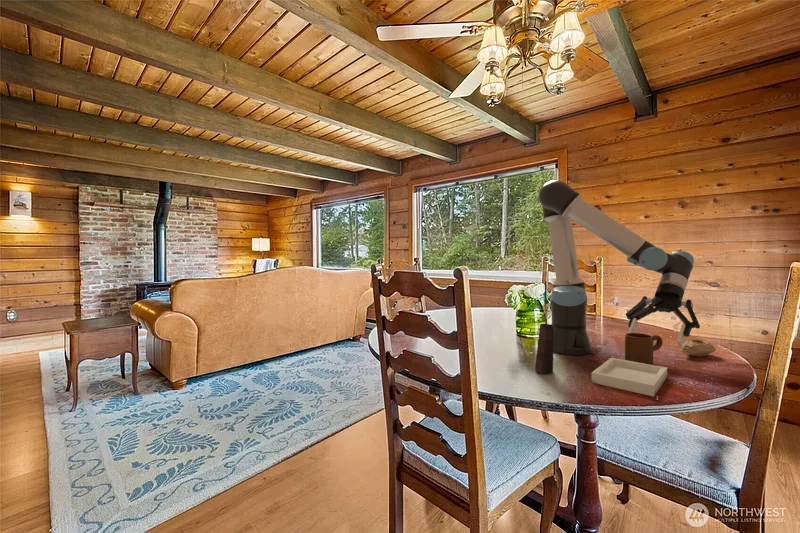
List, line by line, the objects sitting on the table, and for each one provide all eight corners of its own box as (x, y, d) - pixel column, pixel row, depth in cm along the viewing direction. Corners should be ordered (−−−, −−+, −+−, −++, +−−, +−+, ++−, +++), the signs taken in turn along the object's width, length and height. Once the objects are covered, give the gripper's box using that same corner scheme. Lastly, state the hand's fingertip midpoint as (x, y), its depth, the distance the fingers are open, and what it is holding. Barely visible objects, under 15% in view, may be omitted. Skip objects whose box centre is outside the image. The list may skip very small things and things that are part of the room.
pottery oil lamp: (669, 354, 121) (667, 334, 124) (694, 362, 124) (691, 342, 127) (697, 351, 113) (694, 330, 116) (723, 360, 116) (719, 339, 119)
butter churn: (559, 380, 100) (559, 283, 99) (525, 374, 106) (524, 282, 104) (564, 370, 108) (563, 281, 107) (532, 366, 113) (531, 280, 112)
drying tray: (591, 382, 98) (591, 372, 98) (610, 366, 111) (610, 357, 111) (653, 396, 88) (653, 385, 88) (667, 377, 101) (667, 367, 101)
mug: (651, 359, 117) (651, 331, 117) (672, 366, 110) (672, 336, 109) (619, 361, 116) (619, 333, 115) (637, 368, 108) (637, 338, 108)
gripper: (720, 299, 112) (705, 354, 104) (633, 293, 133) (615, 339, 125) (716, 284, 109) (700, 340, 101) (627, 280, 129) (608, 326, 121)
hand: (653, 339), depth 113 cm, fingers open, 13 cm apart
